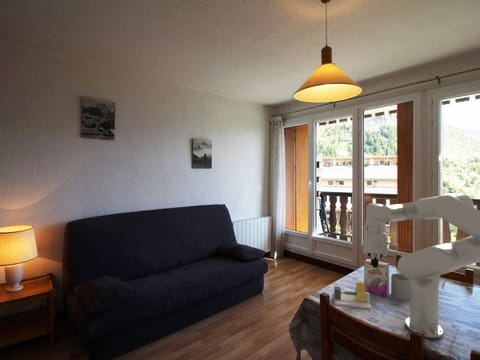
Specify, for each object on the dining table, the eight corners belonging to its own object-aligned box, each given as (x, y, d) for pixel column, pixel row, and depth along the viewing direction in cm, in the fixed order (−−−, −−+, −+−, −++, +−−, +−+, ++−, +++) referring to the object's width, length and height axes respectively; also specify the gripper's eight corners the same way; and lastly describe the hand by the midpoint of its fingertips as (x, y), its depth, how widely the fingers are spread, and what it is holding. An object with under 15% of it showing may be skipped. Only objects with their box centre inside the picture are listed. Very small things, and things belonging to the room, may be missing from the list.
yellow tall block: (365, 301, 122) (365, 284, 122) (356, 300, 123) (356, 283, 123) (363, 296, 126) (363, 280, 126) (355, 296, 127) (355, 279, 127)
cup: (413, 300, 125) (413, 280, 125) (395, 299, 127) (395, 279, 127) (405, 292, 134) (405, 274, 133) (388, 291, 135) (388, 273, 135)
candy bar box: (363, 290, 136) (363, 260, 136) (366, 287, 140) (366, 258, 140) (387, 297, 129) (387, 265, 128) (389, 294, 132) (389, 263, 132)
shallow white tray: (371, 309, 118) (371, 297, 118) (335, 304, 123) (335, 293, 123) (366, 297, 129) (366, 286, 129) (333, 294, 133) (333, 283, 133)
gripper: (359, 230, 120) (359, 268, 121) (395, 232, 116) (394, 271, 117) (356, 226, 127) (356, 262, 128) (390, 228, 123) (389, 265, 124)
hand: (374, 266), depth 123 cm, fingers closed
